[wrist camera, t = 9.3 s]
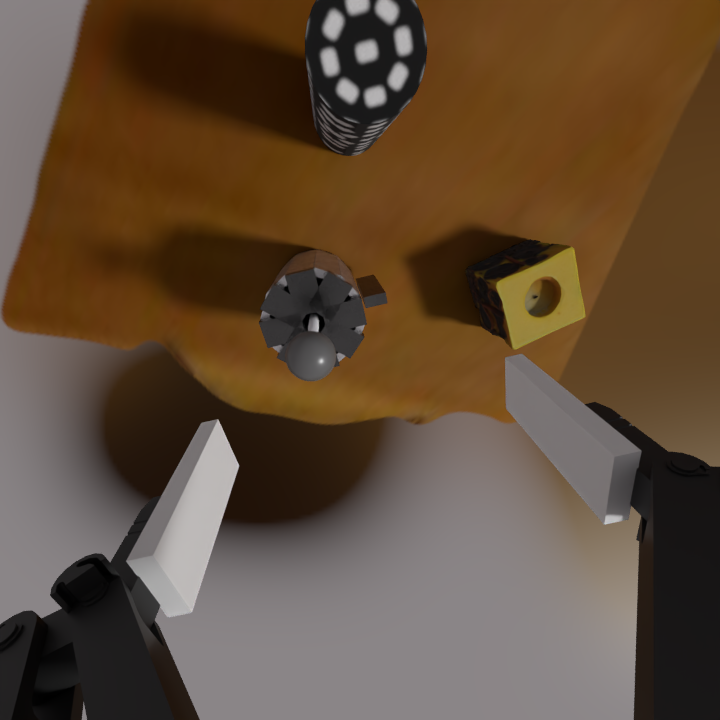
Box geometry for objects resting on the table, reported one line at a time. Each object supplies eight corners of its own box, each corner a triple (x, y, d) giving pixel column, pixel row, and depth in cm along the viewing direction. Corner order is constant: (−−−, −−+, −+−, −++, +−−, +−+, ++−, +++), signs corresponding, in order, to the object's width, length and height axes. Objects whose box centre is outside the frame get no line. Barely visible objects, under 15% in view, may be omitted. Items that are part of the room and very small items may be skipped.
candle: (481, 328, 55) (512, 353, 46) (462, 268, 51) (492, 283, 42) (543, 300, 54) (587, 320, 45) (529, 237, 50) (574, 245, 41)
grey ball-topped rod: (281, 269, 47) (242, 331, 25) (336, 256, 47) (348, 306, 25) (297, 322, 50) (276, 420, 28) (349, 310, 50) (369, 397, 28)
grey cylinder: (269, 259, 48) (245, 285, 34) (364, 236, 48) (381, 252, 33) (291, 330, 52) (279, 379, 38) (378, 309, 52) (399, 351, 38)
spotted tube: (324, 163, 44) (325, 138, 26) (304, 83, 41) (287, -12, 22) (389, 145, 44) (435, 107, 26) (374, 63, 40) (415, -49, 22)
